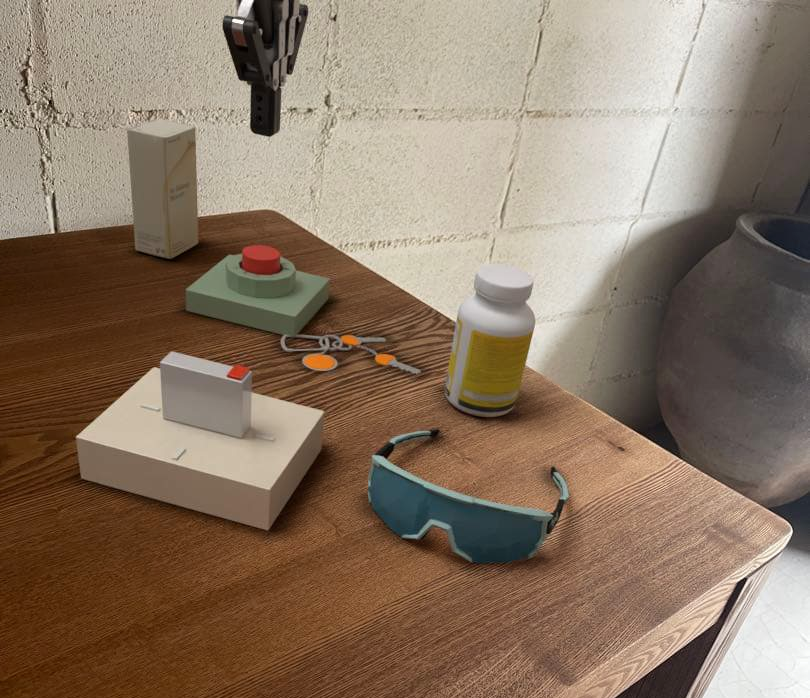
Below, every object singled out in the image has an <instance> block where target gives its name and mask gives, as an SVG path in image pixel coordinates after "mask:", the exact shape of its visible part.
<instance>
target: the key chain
mask: <svg viewBox="0 0 810 698" xmlns="http://www.w3.org/2000/svg"><path fill="white" fill-rule="evenodd" d="M287 338H292V337H291V336H290V335H287V334H285V335H282V336H281V338H280V346H281V348H282V350H283V351H284V352H286V353H294V352H316V353H309V354H307V355H305V356H303V358H302V359H301V362H302V364H303V365H304V366H305V368H308V369H310V370H313V371H319V372H327V371H332V370H334V369H336V368H337V367H338V365H339V363H338V360H337V359H336V358H334V357H333V356H331V355H329V354H325V353H327V351H330V352H333V351H335V352H336V351H342V352H348V351H351V350H352V348H356V349H361V350H364V351H366V352H369V353H371V354H373V355H374V356H375V357H374V361H375V363H376V364H378V365H380V366H384V367H392V368H398V370H400V371H404V372H406V373H411V374H412V375H420V374H421V369H419V368H416V367H413V366H410V365H408V364H405V363H402V362H400V361H398V360H397V357H396V356H394V355H392V354H387V353H377V352H376V351H375V349H372V348H368V347H367V346H363V345H362V344H369V343H371V344H372V343H386V342H387V339H386V338H385V337H381V336H378V337H375V336H373V337H370V336H366V337H362V336H355V335H353V334H352V335H351V334H346V335H342V336H341V337H340V336H337V335H335V334H325V335H323V336H321V335H320V336H319V335H309V334H299V333H298V334H296V335H295V337H294V338H296V339H297V338H298V339H309V340H318V344H319V346H320V347H319V348H317V347H316V348H298V349H294V348H288V347H287V346H286V339H287ZM329 339H334V340H335V341H333V342H332V343H331V342H330V340H329ZM323 341H324V342H325V344H324V343H323ZM330 343H331V344H330ZM330 345H331V346H332V347H330ZM344 345H345V346H347V347H343V346H344ZM319 351H320V352H319Z"/></svg>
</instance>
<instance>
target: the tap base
mask: <svg viewBox="0 0 810 698" xmlns="http://www.w3.org/2000/svg"><path fill="white" fill-rule="evenodd" d="M324 424H325V410H322V409H318V408H314V407H310V406H307V405H302V404H299V403H294V402H290V401H287V400H284V399H280V398H275V397H272V396H268V395H264V394H259V393H256V392H252V402H251V427H250V428H249V429H248V431H247V432H246V433H245V434H244V436H243V437H242V438H238V437H234V436H230V435H226V434H222V433H219V432H215V431H211V430H207V429H203V428H199V427H195V426H191V425H187V424H184V423H180V422H176V421H172V420H168V419H164V418H163V413H162V394H161V375H160V367H155V366H153V367H152V368H151V369H150V370H149V371H147V372H146V373H145V374H144V375H143V376H142V377H141V378H139V380H137V382H135V383H134V384H133V385H132V386H131V387H130V388H129V389H128V390H126V391H125V392H124V393H123V394H122V395H121V396H119V398H118V399H116V400H115V401H114V402H113V403H112V404H110V405H109V406H108V407H107V408H106V409H105V410H104V411H103V412H102V413H100V415H98V416H97V417H96V418H95V419H94V420H93V421H91V423H89V425H87V426H86V427H85V428H84V429H82V431H81V432H80V433H78V434H77V435H76V436H75V443H76V450H77V456H78V457H77V458H78V465H79V466H78V467H79V472H80V479H82V480H86V481H89V482H91V483H96V484H99V485H103V486H107V487H109V488H114V489H117V490H121V491H124V492H128V493H130V494H131V493H132V494H135V495H139V496H142V497H146V498H149V499H153V500H157V501H160V502H163V503H167V504H171V505H174V506H178V507H180V508H181V507H182V508H185V509H189V510H193V511H196V512H200V513H203V514H207V515H211V516H214V517H218V518H221V519H225V520H229V521H232V522H234V523H235V522H236V523H238V524H243V525H246V526H249V527H254V528H256V529H257V528H258V529H260V530H264V531H269V530H270V529H271V527H272V525H274V522H276V519H277V518H278V516H279V515H280V514H281V512H282V510H283V509H284V507H285V506H286V504H287V503H288V501H289V500H290V498H291V497H292V495H293V494H294V492H295V491H296V489H297V487H298V486H299V484H300V483H301V481H302V480H303V478H305V476H306V474H307V472H308V471H309V469H311V466H312V465H313V463H314V461H315V460H316V459H317V457H318V455H319V454H320V452H321V451H322V450H323V449H322V447H323V438H324V437H323V436H324Z"/></svg>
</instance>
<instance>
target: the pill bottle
mask: <svg viewBox="0 0 810 698" xmlns="http://www.w3.org/2000/svg"><path fill="white" fill-rule="evenodd" d="M533 287H534V277H533V276H532V274H530V273H529V272H528V271H525V270H523V269H521V268H518V267H516V266H513V265H508V264H503V263H487V264H482V265H480V266H479V267H478V268H477V269H476V272H475V276H474V280H473V289H474V291H475V292H474V293H471V294H470V295H468V296H467V297H465V298H464V299H463V300H462V302H461V303H460V305H459V306H458V310H457V315H456V321H455V326H454V333H453V338H452V343H451V350H450V353H449V354H450V355H449V361H448V367H447V372H446V377H445V378H446V379H445V384H444V394H445V398H446V399H447V401H448V402H449V404H451V405H452V406H453V407H454V408H456V409H457V410H459V411H461V412H462V413H466V414H468V415H471V416H476V417H481V418H482V417H483V418H495V417H500V416H504V415H506V414H508V413H510V412H511V411H512V410H513V409H514V407H515V406H516V404H517V401H518V396H519V392H520V389H521V385H522V381H523V376H524V372H525V367H526V364H527V360H528V356H529V351H530V347H531V343H532V338H533V334H534V330H535V327H536V316H535V313H534V311H533V309H532V307H530V306H529V304H528V303H527V301H528V300H529V299H530V298H531V296H532V292H533Z"/></svg>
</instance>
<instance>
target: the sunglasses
mask: <svg viewBox="0 0 810 698" xmlns="http://www.w3.org/2000/svg"><path fill="white" fill-rule="evenodd" d="M440 432H441V430H440V429H438V428H436V429H430V430H418V431H413V432H408V433H403V434H399V435H397V436H395V437H391V438H390V440H389V441H388V442H387V443H386V444H384V445H383V446H382V447H381V448H380V449H378V451H376V452H375V454H371V462H370V466H369V470H368V476H367V482H368V483H367V484H368V488H367V498H368V504H370V506H371V507H372V510H373V511H374V512H375V513H376V514H377V516H378V517H379V518H380V519H381V520H382V522H383V523H384V524H385V525H386V526H387V527H388V528H389V530H392V532H393V533H395V534H397V535H398V536H399V537H400V538H401V539H407V540H408V539H409V540H418V541H419V540H423V539H424V538H425V537H426V536H427V535H428V534H429V533H430V531H431V530H432V529H433V528H437V529H440V530H442V531H443V532H445V534H446V537H447V539H448V542H449V545H450V548H451V551H452V552H453V553H454V554H457V555H458V556H460V557H461V558H463V559H464V560H466V561H468V563H471V564H472V563H474V564H478V563H479V564H507V563H511V562H516V561H520V560H524V559H528V560H529V559H531V558H532V557H533V556H534V555H535V554H536V553H537V552H538V551H539V550H541V548H542V545H543V543H544V542H545V541H547V540H548V536H549V535H551V533H552V532H553V530H554V529H555V527H556V525H557V523H558V522H559V520H560V518H561V514H562V513H563V509H564V506H565V505H566V503H567V502H568V499H569V497H570V496H569V490H568V484H567V483H566V481H565V480H564V478H563V476H562V475H561V474H560V473H559V472H558V471H557V468H556V467H555V466H551V467H550V473H549V474H550V476H551V478H552V480H553V481H554V482H555V484H556V485H557V487H558V489H559V491H560V495H561V496H560V497H559V498H558V501H557V504H556V507H555V509H554V510H553V512H547V511H545V510H542V509H540V508H532V507H524V506H516V505H510V504H505V503H500V502H494V501H490V500H487V499H483V498H482V499H481V498H478V497H474V496H472V495H467V494H464V493H460V492H457V491H454V490H451V489H448V488H445V487H442V486H439V485H437V484H436V483H432V482H430V481H427V480H424V479H422V478H420V477H418V476H416V475H414V474H413V473H410V472H409V471H406V470H405V469H402V468H401V467H399V466H397V465H395V464H394V463H392V462H391V461H389V460H387V459H388V458H389V457H390V455H391V454H393V452H394V451H395V449H396V448H397V447H398V446H401V445H403V444H406V443H410V442H413V441H420V440H425V439H433V438H437V437H438V435H439V434H440Z"/></svg>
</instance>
